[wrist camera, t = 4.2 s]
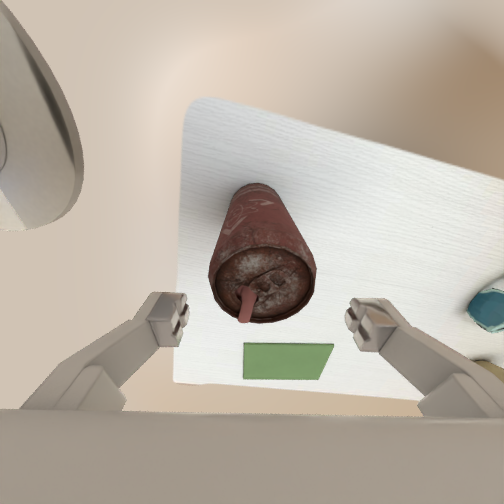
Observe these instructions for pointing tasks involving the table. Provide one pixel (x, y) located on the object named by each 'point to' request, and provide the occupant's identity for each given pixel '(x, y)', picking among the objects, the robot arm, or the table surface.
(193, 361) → the table surface
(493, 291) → the sunglasses
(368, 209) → the table surface
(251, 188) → the can
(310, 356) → the felt cloth
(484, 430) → the robot arm
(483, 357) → the table surface
